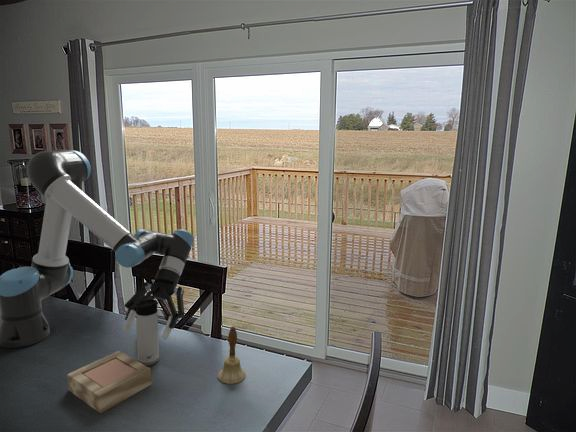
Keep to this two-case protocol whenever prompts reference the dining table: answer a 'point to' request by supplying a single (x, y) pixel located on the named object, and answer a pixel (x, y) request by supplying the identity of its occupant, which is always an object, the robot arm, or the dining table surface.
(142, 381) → the wooden tray
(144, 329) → the travel mug
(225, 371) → the hand bell
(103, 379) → the pink plate
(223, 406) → the dining table surface
